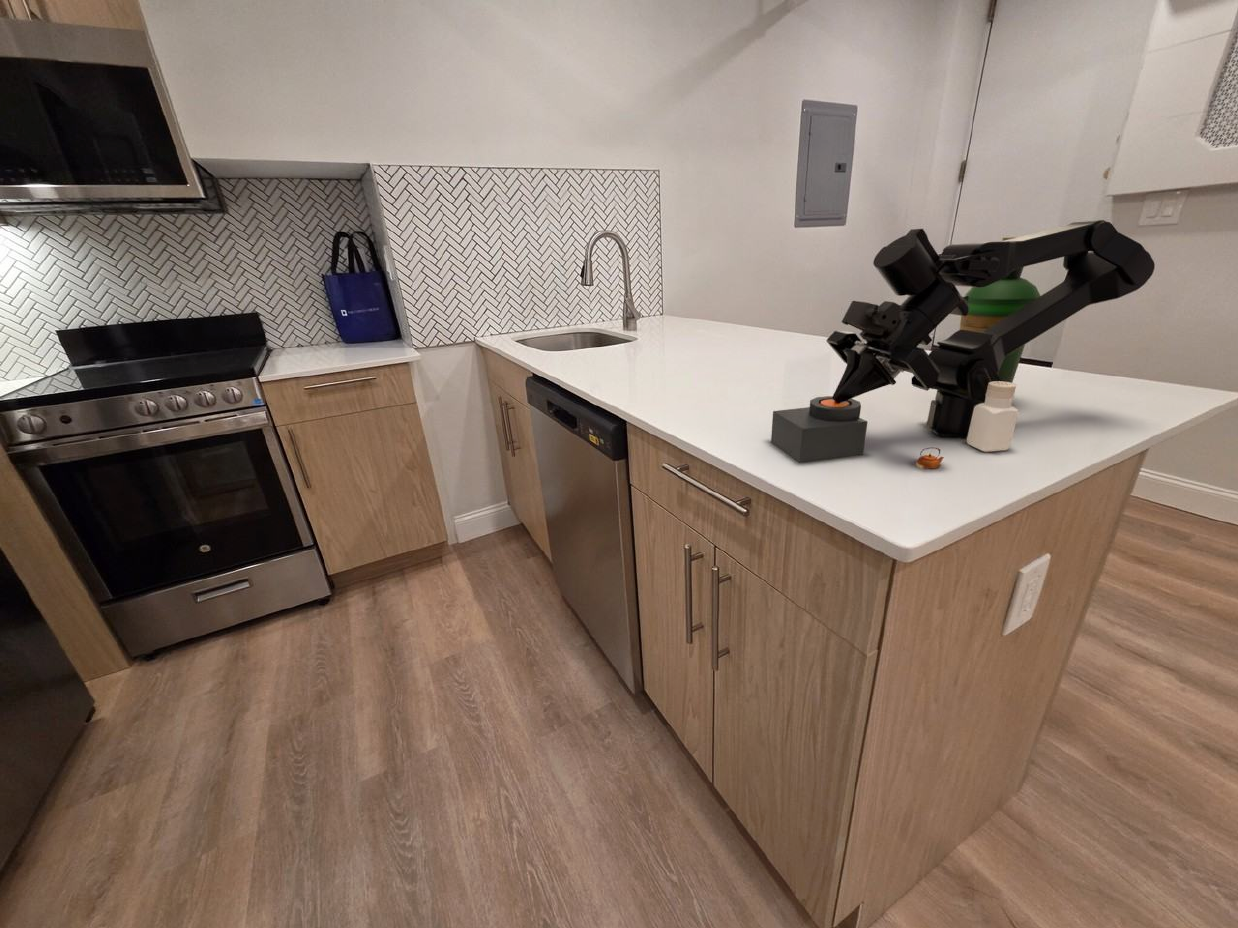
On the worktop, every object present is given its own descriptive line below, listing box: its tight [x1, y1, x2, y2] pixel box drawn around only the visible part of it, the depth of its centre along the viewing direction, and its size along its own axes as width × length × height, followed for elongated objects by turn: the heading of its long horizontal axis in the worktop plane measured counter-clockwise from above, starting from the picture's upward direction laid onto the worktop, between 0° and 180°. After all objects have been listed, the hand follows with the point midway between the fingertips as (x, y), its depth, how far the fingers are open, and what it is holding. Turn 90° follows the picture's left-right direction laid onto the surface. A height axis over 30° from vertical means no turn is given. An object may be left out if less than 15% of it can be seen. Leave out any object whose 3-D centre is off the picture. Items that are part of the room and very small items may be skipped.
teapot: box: [915, 446, 945, 470], centre depth 68 cm, size 3×3×3 cm
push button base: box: [770, 395, 868, 464], centre depth 75 cm, size 11×9×7 cm
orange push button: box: [820, 399, 850, 407], centre depth 75 cm, size 4×4×2 cm
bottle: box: [958, 236, 1041, 383], centre depth 88 cm, size 11×11×28 cm
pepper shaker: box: [966, 381, 1019, 453], centre depth 72 cm, size 4×4×10 cm
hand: (835, 400), depth 74 cm, fingers closed, pressing on orange push button
